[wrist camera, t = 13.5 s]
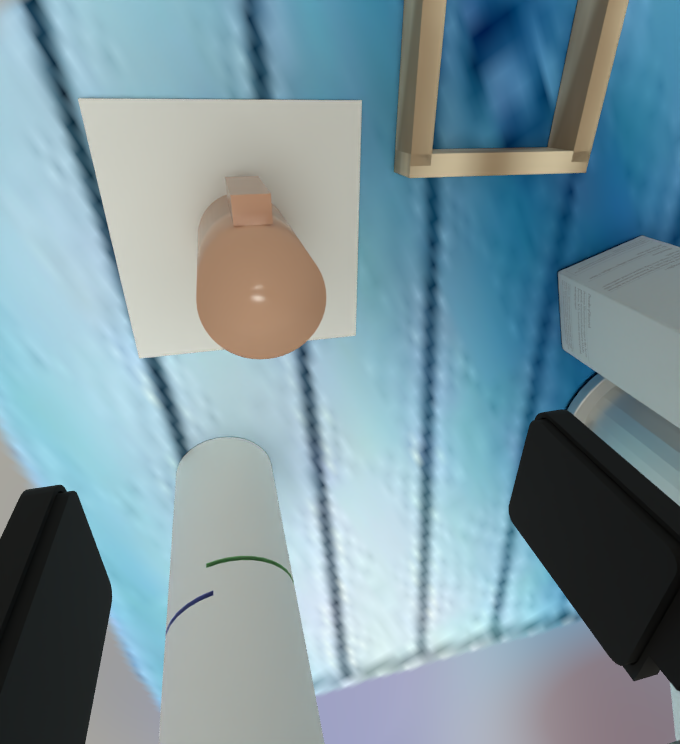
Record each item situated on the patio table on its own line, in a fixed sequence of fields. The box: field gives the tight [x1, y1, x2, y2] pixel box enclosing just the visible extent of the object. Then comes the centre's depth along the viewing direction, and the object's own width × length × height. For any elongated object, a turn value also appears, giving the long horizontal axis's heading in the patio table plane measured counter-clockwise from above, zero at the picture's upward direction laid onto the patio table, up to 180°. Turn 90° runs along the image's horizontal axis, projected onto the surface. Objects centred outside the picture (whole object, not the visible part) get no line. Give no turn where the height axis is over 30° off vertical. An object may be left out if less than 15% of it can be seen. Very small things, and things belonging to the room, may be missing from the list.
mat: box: [78, 98, 362, 358], centre depth 28 cm, size 14×14×1 cm
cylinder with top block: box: [196, 176, 326, 359], centre depth 23 cm, size 5×6×10 cm
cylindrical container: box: [159, 437, 324, 744], centre depth 26 cm, size 7×7×25 cm
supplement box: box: [558, 236, 680, 428], centre depth 31 cm, size 7×7×13 cm
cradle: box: [394, 0, 629, 178], centre depth 26 cm, size 11×11×2 cm
